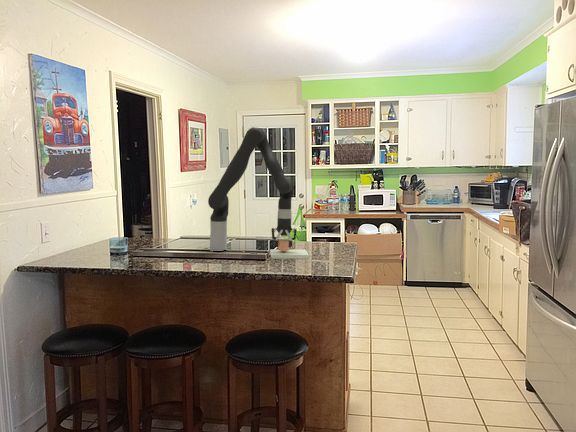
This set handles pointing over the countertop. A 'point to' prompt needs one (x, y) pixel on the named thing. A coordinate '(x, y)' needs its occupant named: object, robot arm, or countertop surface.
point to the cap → (283, 244)
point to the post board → (289, 254)
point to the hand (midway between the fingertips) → (283, 247)
